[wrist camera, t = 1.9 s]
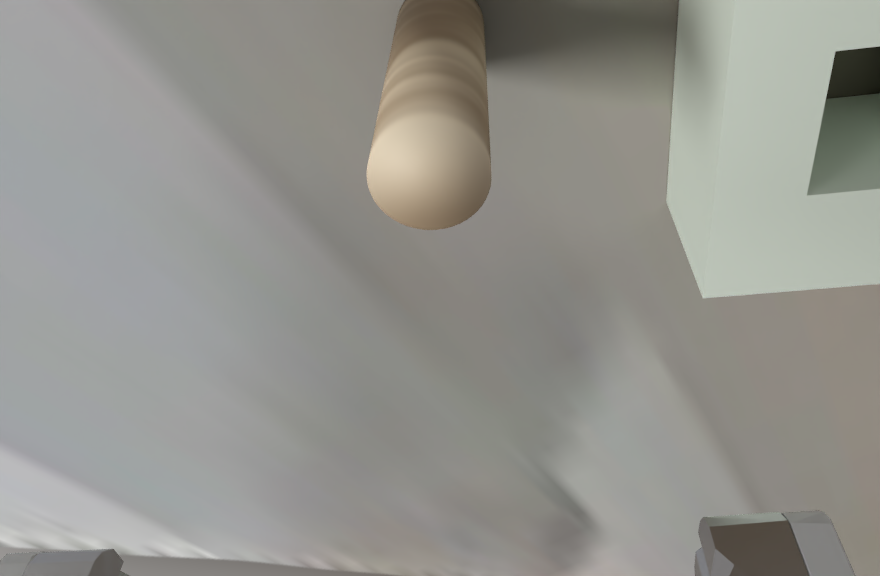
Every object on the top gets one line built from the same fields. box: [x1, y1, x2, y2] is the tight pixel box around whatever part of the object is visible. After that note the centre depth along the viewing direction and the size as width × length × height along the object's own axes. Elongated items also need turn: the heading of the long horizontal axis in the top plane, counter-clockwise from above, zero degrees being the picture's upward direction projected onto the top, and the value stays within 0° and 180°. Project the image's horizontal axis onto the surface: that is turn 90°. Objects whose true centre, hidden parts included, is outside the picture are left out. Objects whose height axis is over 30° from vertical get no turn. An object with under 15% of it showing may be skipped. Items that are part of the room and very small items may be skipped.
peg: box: [367, 0, 491, 230], centre depth 22 cm, size 3×3×10 cm
